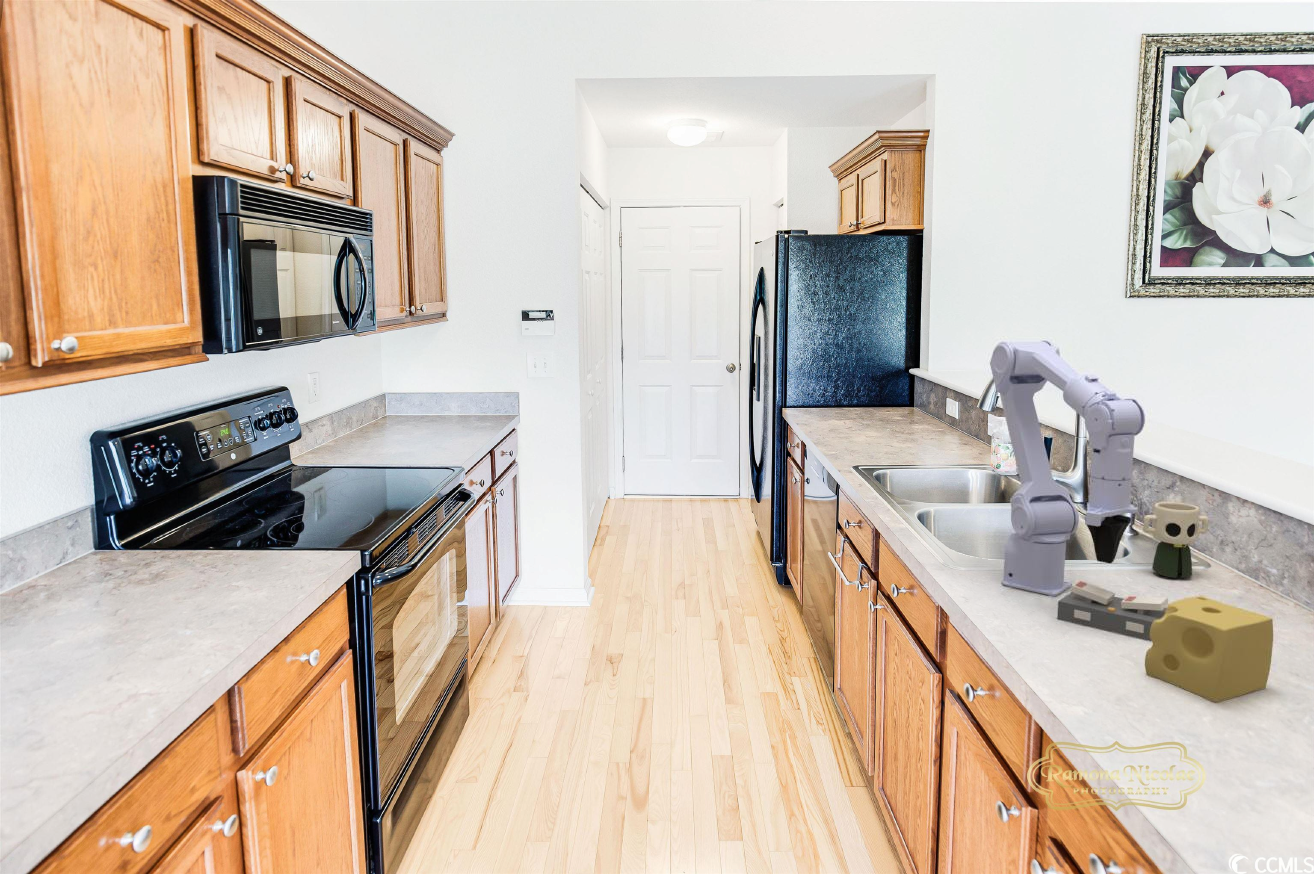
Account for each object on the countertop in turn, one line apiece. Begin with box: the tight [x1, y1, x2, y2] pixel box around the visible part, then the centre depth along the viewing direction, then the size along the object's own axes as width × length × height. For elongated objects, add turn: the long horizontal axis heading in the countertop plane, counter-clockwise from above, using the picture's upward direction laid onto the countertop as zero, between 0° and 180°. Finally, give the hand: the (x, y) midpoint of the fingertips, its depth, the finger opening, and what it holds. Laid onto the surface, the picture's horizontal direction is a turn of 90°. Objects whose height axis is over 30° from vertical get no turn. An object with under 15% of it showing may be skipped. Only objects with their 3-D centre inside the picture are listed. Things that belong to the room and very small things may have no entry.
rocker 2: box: [1121, 595, 1169, 611], centre depth 133 cm, size 6×4×1 cm, turn 45°
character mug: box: [1142, 501, 1209, 578], centre depth 158 cm, size 11×7×13 cm, turn 82°
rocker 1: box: [1069, 580, 1116, 605], centre depth 139 cm, size 6×4×1 cm, turn 46°
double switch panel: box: [1057, 591, 1167, 642], centre depth 136 cm, size 15×8×4 cm, turn 45°
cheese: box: [1144, 595, 1274, 703], centre depth 115 cm, size 10×11×10 cm
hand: (1105, 561), depth 138 cm, fingers closed
